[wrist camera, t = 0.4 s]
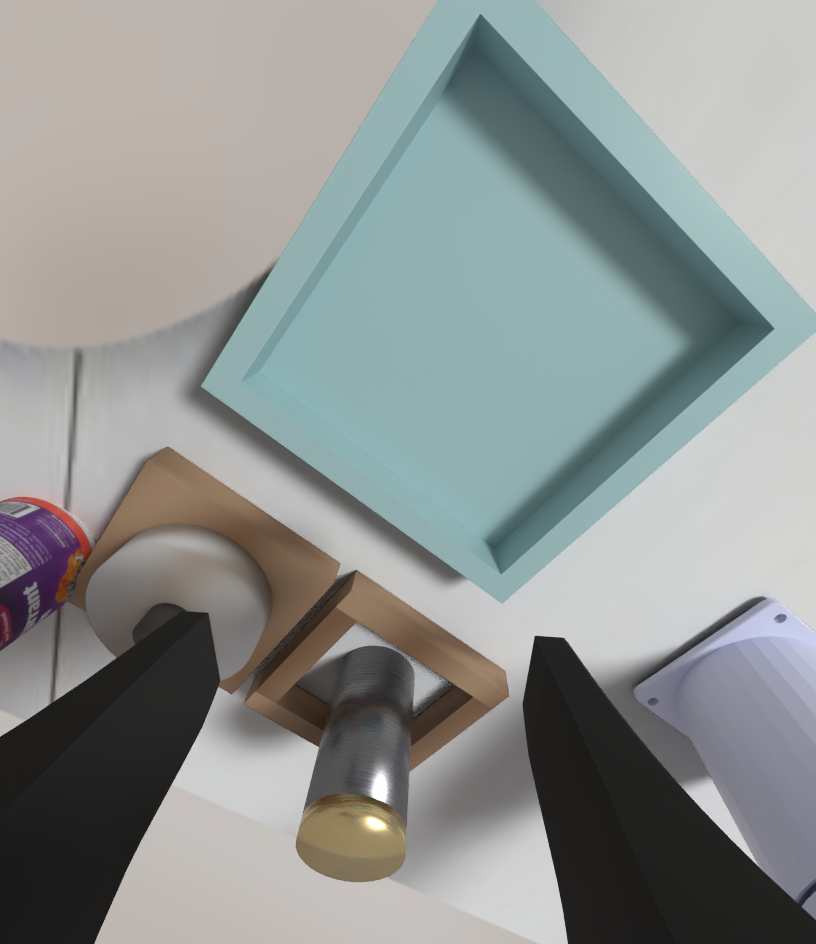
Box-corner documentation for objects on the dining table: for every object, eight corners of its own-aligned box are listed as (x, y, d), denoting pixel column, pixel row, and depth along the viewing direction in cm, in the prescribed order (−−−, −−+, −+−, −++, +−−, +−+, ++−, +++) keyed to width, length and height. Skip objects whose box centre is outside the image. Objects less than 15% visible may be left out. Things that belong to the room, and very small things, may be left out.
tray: (770, 315, 16) (825, 323, 14) (495, 567, 21) (502, 603, 19) (470, -7, 13) (477, -64, 11) (230, 371, 18) (200, 386, 16)
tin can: (430, 673, 24) (427, 851, 17) (383, 713, 25) (361, 893, 18) (368, 633, 23) (337, 802, 16) (323, 677, 24) (275, 851, 17)
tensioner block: (505, 671, 24) (519, 756, 19) (391, 760, 27) (383, 849, 23) (170, 443, 20) (98, 489, 15) (84, 581, 23) (6, 650, 19)
